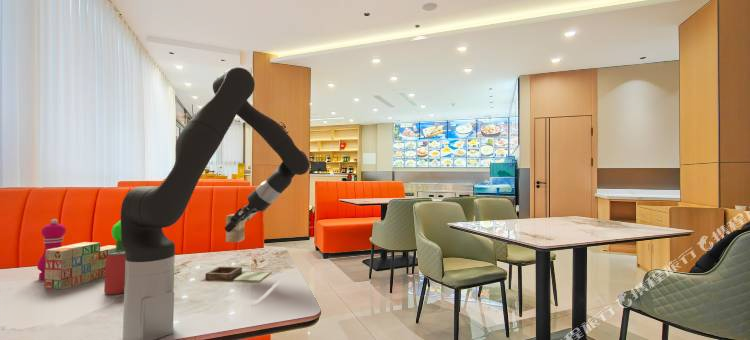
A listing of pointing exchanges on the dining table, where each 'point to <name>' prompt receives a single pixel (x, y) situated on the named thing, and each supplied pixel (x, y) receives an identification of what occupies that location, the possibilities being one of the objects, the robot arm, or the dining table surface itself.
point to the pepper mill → (50, 242)
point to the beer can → (115, 272)
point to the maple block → (235, 231)
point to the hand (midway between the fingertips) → (230, 229)
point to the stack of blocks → (75, 264)
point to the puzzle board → (234, 275)
